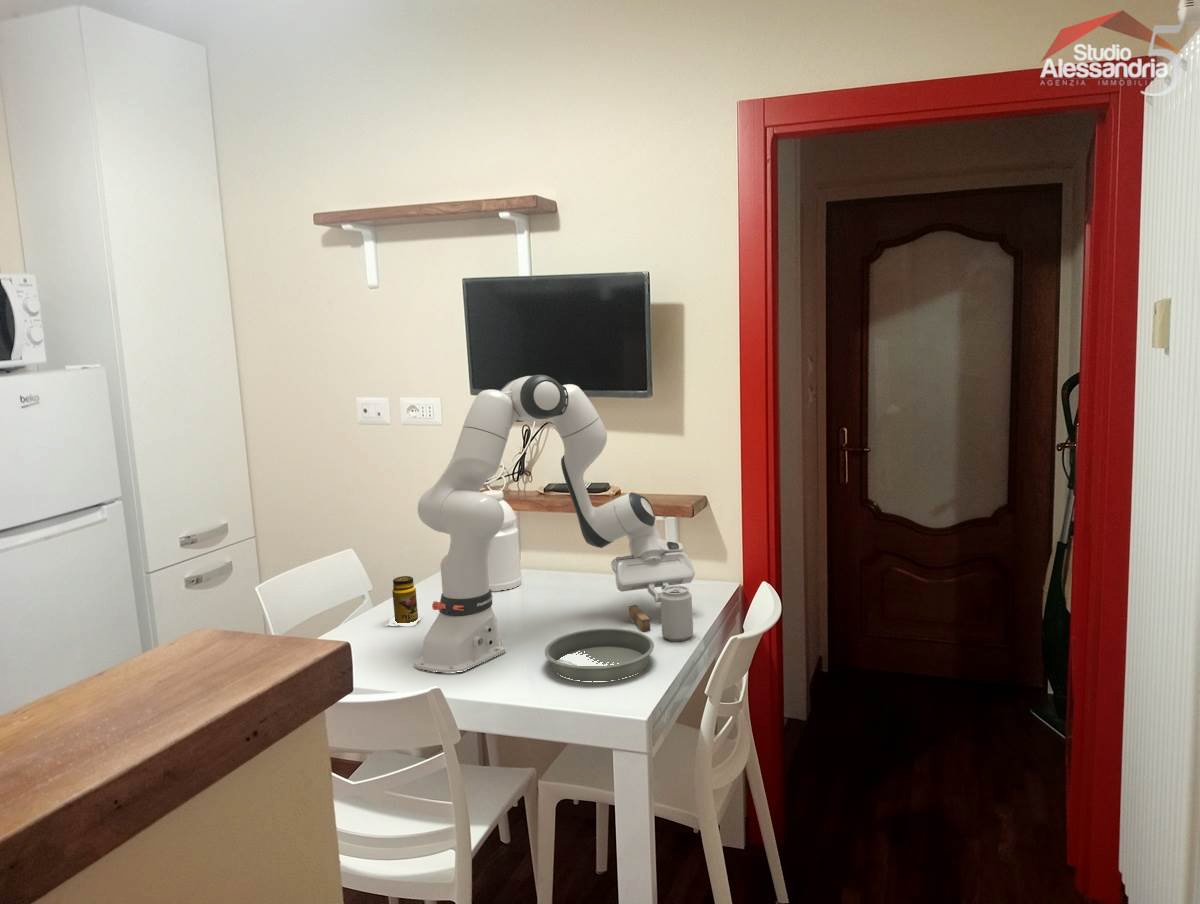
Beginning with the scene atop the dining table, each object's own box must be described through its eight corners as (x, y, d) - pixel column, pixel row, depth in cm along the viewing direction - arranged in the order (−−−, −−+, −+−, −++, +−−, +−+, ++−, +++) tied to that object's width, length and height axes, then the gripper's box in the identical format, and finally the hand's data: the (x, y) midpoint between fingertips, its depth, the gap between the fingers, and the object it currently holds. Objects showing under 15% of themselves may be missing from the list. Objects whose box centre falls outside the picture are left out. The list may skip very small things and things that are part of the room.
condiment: (415, 626, 246) (411, 581, 244) (383, 627, 247) (379, 582, 245) (423, 617, 253) (419, 573, 251) (392, 618, 254) (388, 574, 252)
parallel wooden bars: (629, 617, 243) (628, 605, 243) (677, 610, 246) (676, 599, 246) (642, 631, 232) (642, 620, 231) (692, 624, 235) (692, 613, 234)
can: (659, 641, 224) (657, 593, 223) (664, 631, 232) (662, 583, 230) (691, 642, 223) (689, 593, 221) (695, 631, 230) (693, 584, 228)
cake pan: (571, 642, 228) (570, 624, 228) (668, 650, 219) (668, 631, 219) (527, 681, 206) (525, 661, 205) (633, 692, 197) (632, 671, 196)
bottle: (508, 575, 288) (502, 485, 284) (530, 585, 277) (524, 491, 272) (466, 585, 281) (459, 492, 276) (487, 595, 269) (480, 499, 265)
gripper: (611, 551, 239) (623, 599, 231) (687, 542, 244) (702, 589, 236) (608, 564, 244) (619, 611, 236) (683, 555, 249) (697, 601, 241)
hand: (661, 600), depth 236 cm, fingers closed
